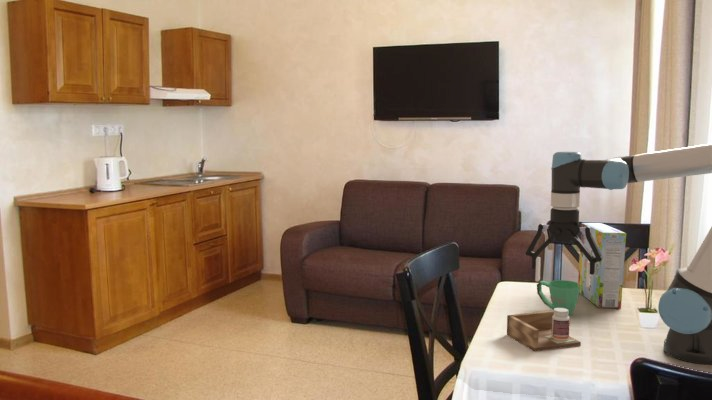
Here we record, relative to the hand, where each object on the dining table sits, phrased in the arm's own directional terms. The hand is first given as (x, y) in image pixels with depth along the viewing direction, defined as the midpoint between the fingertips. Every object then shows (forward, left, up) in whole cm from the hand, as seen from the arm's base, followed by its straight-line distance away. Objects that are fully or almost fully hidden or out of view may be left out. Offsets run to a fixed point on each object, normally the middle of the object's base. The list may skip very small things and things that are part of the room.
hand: (562, 283), depth 179 cm
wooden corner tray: (+3, +4, -17) cm, 18 cm away
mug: (+24, -16, -17) cm, 34 cm away
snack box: (+32, -39, -18) cm, 53 cm away
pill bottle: (0, 0, -16) cm, 16 cm away
